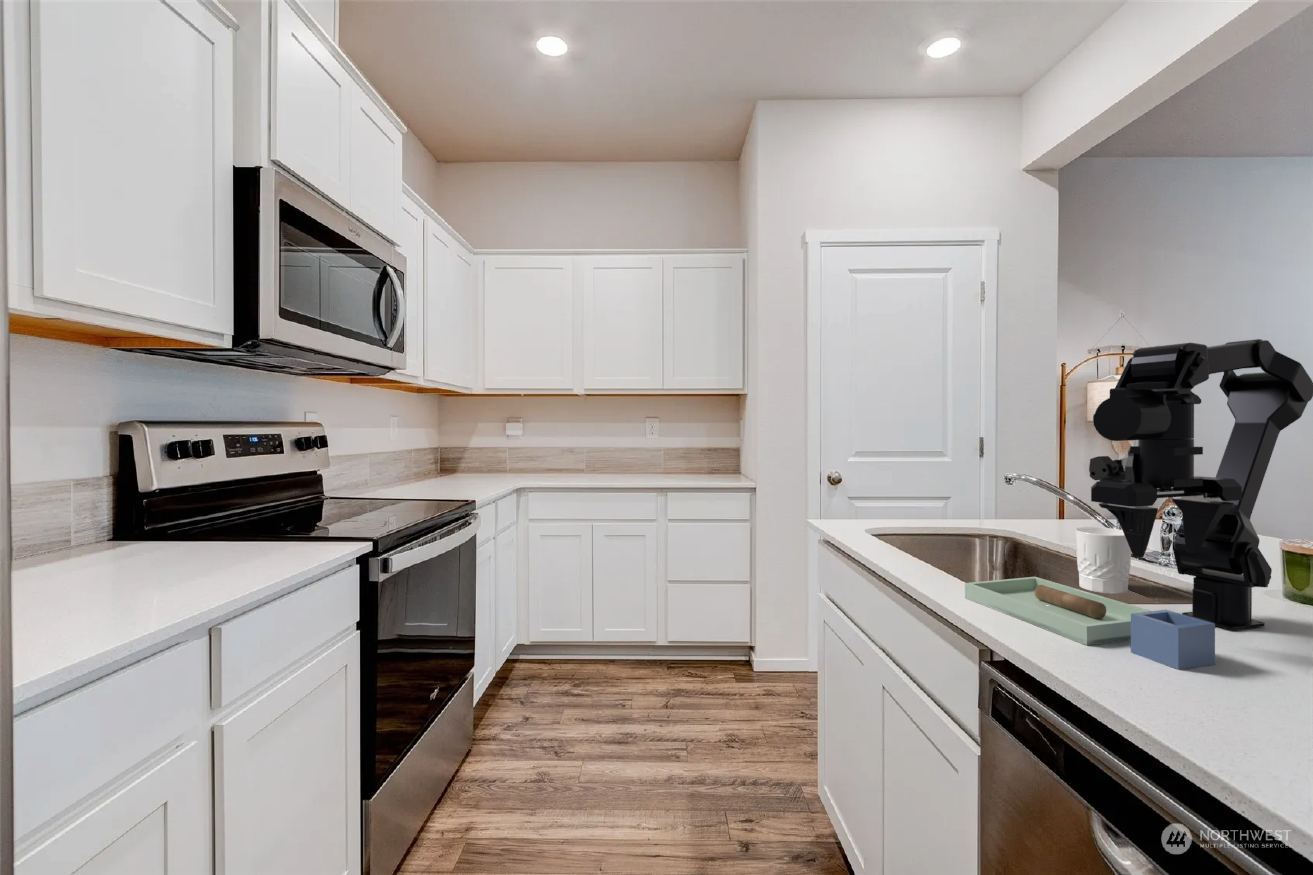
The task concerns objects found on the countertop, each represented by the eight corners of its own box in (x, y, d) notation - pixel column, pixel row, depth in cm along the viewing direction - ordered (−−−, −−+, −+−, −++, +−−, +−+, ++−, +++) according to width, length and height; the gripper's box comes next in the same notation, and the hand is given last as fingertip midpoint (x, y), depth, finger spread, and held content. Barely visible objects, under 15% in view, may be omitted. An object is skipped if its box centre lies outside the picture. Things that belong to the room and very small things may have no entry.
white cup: (1142, 596, 99) (1142, 535, 99) (1088, 594, 100) (1088, 535, 100) (1116, 583, 107) (1116, 527, 106) (1066, 582, 108) (1066, 526, 108)
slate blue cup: (1165, 647, 77) (1165, 609, 77) (1214, 664, 72) (1215, 623, 72) (1130, 651, 76) (1130, 613, 76) (1178, 669, 70) (1178, 628, 70)
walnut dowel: (1066, 611, 86) (1030, 597, 97) (1107, 622, 86) (1067, 606, 96) (1069, 595, 87) (1033, 582, 97) (1111, 605, 86) (1070, 592, 96)
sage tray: (1035, 591, 103) (1035, 576, 103) (1171, 634, 81) (1171, 616, 81) (964, 598, 100) (964, 583, 100) (1086, 645, 78) (1086, 626, 78)
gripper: (1158, 436, 90) (1157, 539, 91) (1055, 439, 86) (1055, 547, 87) (1245, 437, 80) (1244, 554, 80) (1132, 441, 75) (1132, 564, 76)
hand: (1165, 554), depth 81 cm, fingers open, 9 cm apart
